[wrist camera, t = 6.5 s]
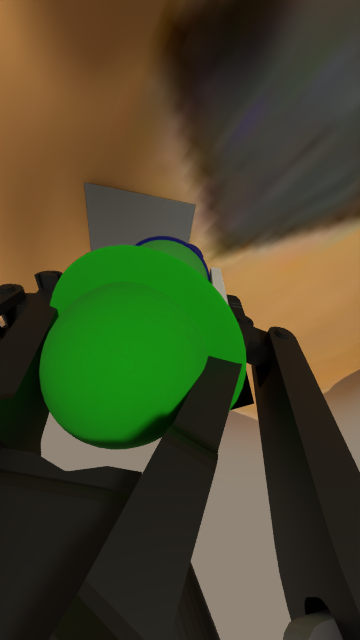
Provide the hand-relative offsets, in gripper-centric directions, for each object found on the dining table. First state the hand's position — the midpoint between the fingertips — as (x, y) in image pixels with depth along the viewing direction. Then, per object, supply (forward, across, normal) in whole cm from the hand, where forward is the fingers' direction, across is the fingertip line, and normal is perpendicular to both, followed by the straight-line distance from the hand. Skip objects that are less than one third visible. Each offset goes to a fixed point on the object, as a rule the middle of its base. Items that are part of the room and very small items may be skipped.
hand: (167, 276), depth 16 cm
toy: (+2, 0, 0) cm, 2 cm away
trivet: (+21, -8, -4) cm, 23 cm away
